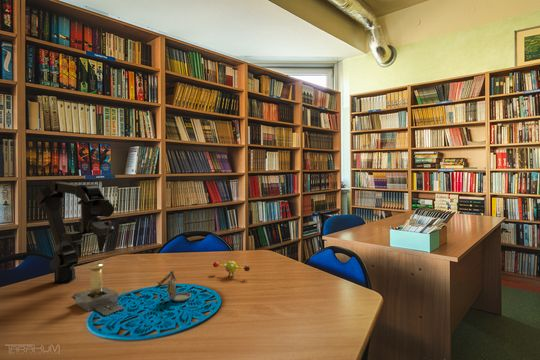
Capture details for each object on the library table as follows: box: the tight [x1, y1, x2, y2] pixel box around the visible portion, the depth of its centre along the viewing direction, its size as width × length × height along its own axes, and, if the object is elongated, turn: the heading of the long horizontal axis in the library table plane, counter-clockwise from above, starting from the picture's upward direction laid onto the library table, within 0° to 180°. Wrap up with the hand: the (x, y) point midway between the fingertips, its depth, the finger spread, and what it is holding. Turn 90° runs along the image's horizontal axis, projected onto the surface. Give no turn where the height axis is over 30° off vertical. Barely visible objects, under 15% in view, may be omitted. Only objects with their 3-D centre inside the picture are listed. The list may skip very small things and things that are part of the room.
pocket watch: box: [166, 272, 192, 302], centre depth 112 cm, size 8×8×10 cm
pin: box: [88, 262, 104, 298], centre depth 110 cm, size 4×4×14 cm
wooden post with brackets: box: [157, 270, 177, 287], centre depth 129 cm, size 2×8×4 cm, turn 144°
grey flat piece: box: [72, 286, 125, 317], centre depth 110 cm, size 26×10×3 cm, turn 52°
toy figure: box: [212, 260, 251, 278], centre depth 136 cm, size 18×6×7 cm, turn 68°
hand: (90, 254), depth 125 cm, fingers open, 9 cm apart
